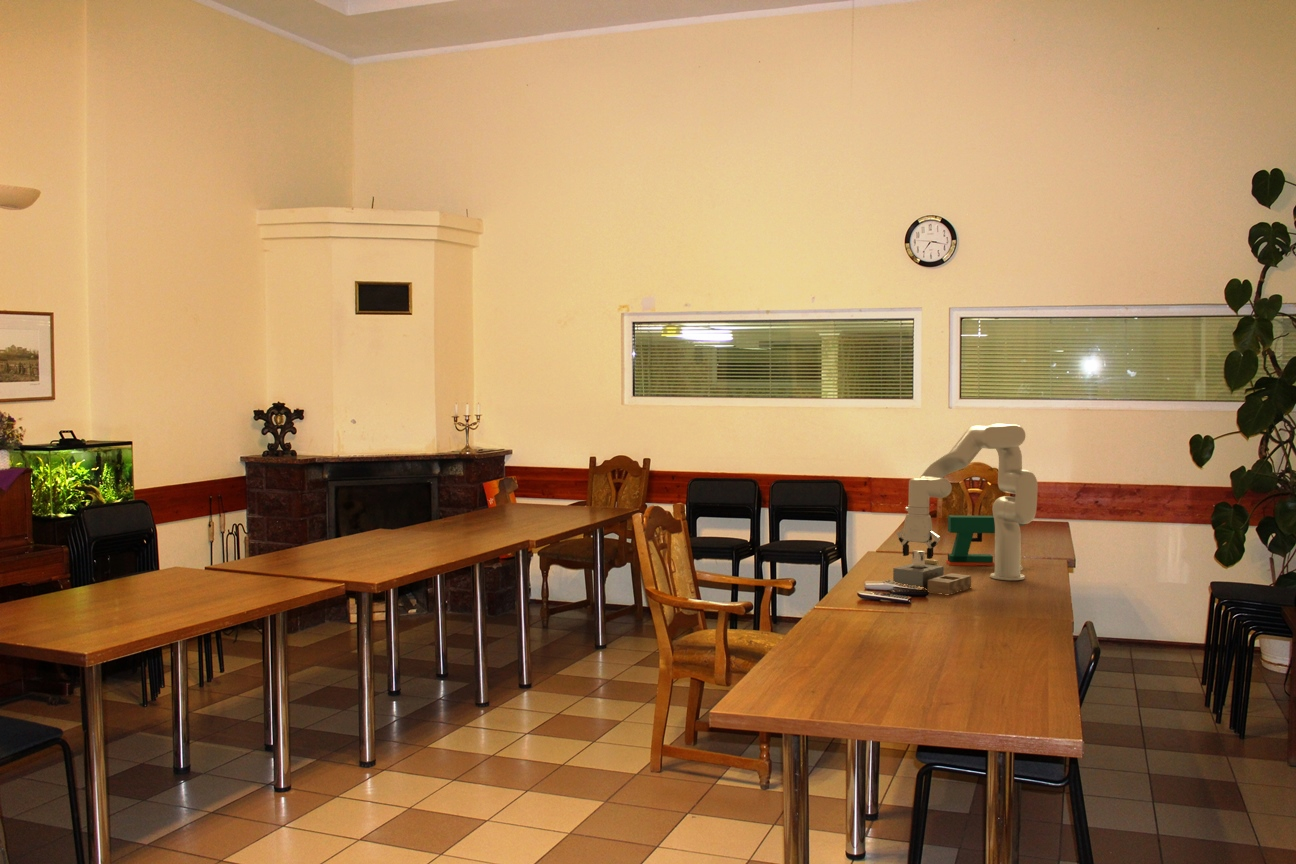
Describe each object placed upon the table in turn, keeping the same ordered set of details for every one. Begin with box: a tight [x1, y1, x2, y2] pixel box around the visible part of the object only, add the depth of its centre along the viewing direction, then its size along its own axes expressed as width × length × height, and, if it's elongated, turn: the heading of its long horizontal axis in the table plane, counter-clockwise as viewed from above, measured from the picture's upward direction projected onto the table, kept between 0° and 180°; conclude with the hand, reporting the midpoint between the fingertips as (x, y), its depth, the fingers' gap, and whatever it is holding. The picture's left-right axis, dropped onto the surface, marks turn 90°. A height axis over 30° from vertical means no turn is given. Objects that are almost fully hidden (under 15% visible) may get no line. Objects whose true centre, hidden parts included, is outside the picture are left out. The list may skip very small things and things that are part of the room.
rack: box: [927, 573, 972, 595], centre depth 387 cm, size 18×8×4 cm, turn 138°
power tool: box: [945, 514, 1027, 566], centre depth 442 cm, size 32×7×20 cm, turn 84°
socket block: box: [892, 562, 945, 589], centre depth 396 cm, size 16×12×7 cm
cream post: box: [912, 549, 926, 569], centre depth 395 cm, size 4×4×13 cm
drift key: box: [925, 558, 939, 566], centre depth 401 cm, size 8×5×7 cm, turn 138°
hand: (917, 557), depth 395 cm, fingers open, 9 cm apart
